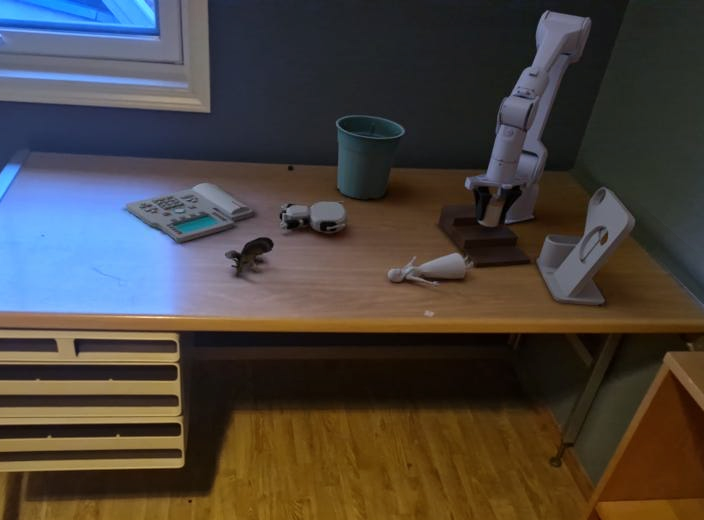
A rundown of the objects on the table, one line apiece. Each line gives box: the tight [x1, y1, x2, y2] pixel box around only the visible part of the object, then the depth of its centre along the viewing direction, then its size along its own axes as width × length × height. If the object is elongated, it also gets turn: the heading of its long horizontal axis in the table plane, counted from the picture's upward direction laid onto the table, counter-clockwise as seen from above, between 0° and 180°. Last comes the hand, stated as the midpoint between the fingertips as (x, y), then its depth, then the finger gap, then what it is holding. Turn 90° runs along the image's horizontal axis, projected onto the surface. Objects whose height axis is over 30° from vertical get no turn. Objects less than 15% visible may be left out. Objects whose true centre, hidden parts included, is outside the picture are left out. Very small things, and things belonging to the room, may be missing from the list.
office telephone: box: [125, 182, 254, 243], centre depth 147 cm, size 23×3×20 cm
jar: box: [478, 193, 506, 227], centre depth 143 cm, size 5×5×6 cm
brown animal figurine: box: [224, 236, 275, 277], centre depth 130 cm, size 8×7×9 cm
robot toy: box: [278, 200, 348, 235], centre depth 147 cm, size 12×4×15 cm
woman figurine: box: [387, 252, 474, 287], centre depth 133 cm, size 12×4×18 cm
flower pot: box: [335, 114, 406, 200], centre depth 161 cm, size 16×16×16 cm
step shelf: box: [437, 203, 532, 268], centre depth 146 cm, size 20×13×5 cm, turn 15°
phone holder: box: [535, 186, 636, 306], centre depth 132 cm, size 17×10×18 cm, turn 178°
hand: (488, 218), depth 144 cm, fingers closed on jar, 4 cm apart
